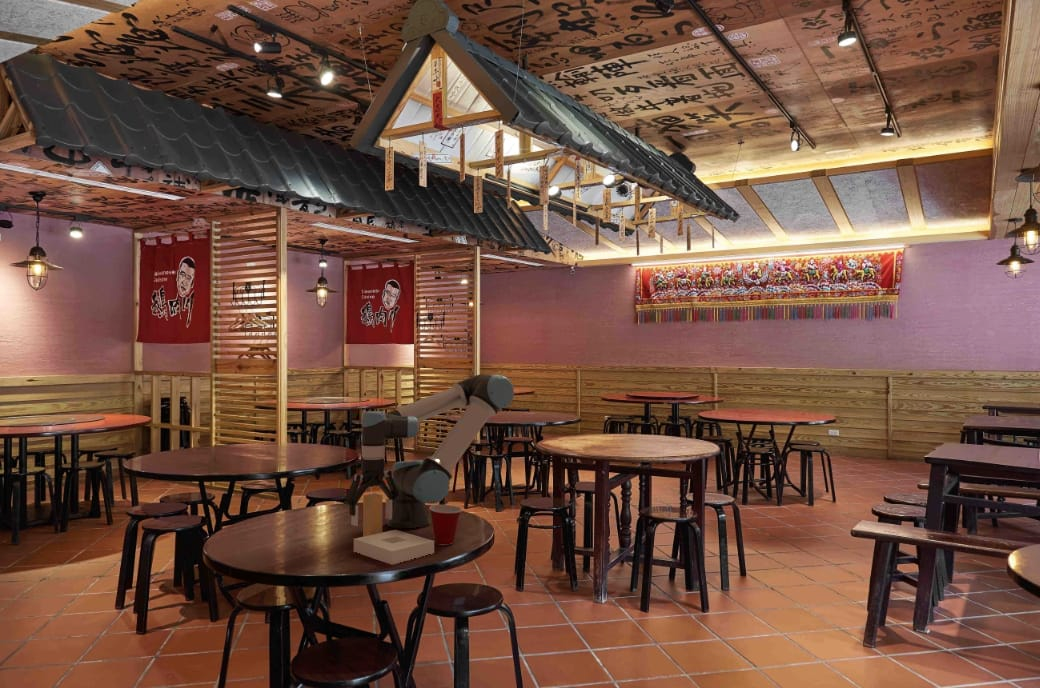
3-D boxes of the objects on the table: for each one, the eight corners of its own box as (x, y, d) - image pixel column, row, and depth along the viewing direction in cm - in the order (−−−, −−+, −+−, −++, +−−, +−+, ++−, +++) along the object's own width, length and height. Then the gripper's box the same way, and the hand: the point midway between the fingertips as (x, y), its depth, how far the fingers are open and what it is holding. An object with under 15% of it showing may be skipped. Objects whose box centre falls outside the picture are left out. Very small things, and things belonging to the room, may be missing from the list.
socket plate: (395, 541, 234) (395, 529, 234) (434, 553, 221) (434, 540, 221) (353, 551, 223) (353, 538, 223) (392, 564, 209) (392, 551, 209)
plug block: (374, 537, 239) (374, 493, 240) (382, 540, 236) (382, 495, 236) (363, 540, 236) (363, 495, 236) (370, 542, 233) (371, 497, 233)
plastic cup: (461, 548, 227) (462, 510, 227) (427, 548, 227) (428, 510, 227) (462, 539, 238) (462, 503, 238) (429, 539, 237) (430, 503, 238)
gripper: (396, 453, 248) (395, 514, 248) (334, 460, 230) (333, 526, 230) (409, 455, 243) (408, 517, 243) (347, 462, 225) (345, 530, 224)
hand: (372, 521), depth 236 cm, fingers open, 13 cm apart
